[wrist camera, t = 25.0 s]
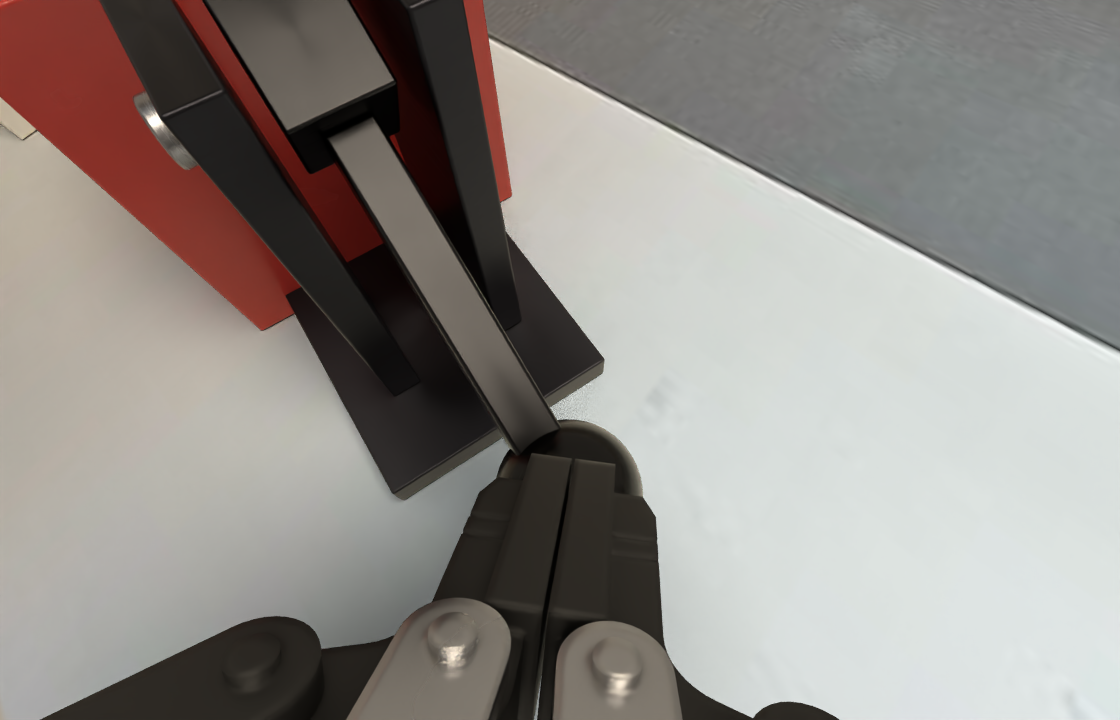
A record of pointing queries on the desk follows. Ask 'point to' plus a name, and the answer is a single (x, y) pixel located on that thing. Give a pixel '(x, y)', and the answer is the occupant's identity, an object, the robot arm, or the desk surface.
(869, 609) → the desk surface
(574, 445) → the toaster lever
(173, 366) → the desk surface
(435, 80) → the lever bracket
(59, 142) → the toaster
